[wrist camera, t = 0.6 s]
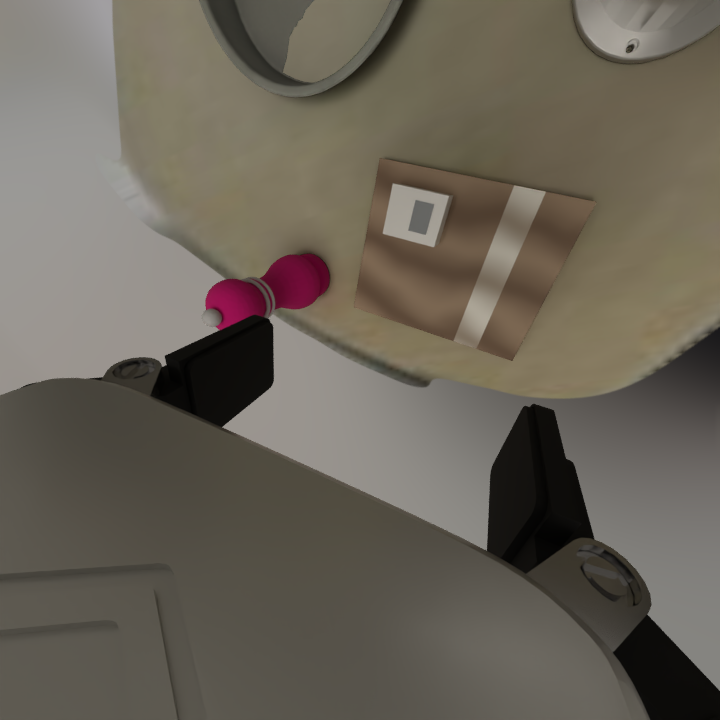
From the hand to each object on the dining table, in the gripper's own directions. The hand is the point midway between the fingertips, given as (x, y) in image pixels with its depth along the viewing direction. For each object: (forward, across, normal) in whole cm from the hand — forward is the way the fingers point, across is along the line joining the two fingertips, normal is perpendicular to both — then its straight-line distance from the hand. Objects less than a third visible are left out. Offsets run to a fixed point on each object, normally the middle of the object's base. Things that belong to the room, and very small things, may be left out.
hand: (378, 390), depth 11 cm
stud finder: (+30, +6, -4) cm, 30 cm away
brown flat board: (+31, +1, +1) cm, 31 cm away
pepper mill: (+32, +21, +7) cm, 38 cm away
